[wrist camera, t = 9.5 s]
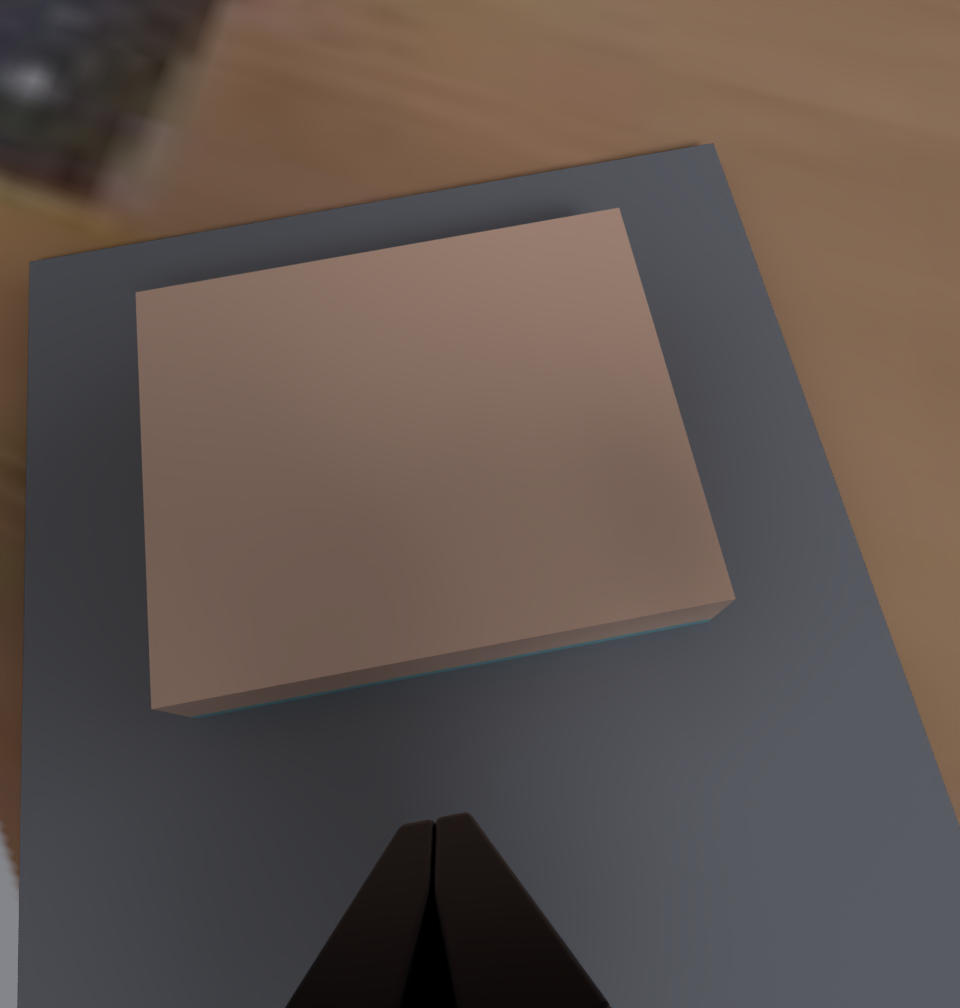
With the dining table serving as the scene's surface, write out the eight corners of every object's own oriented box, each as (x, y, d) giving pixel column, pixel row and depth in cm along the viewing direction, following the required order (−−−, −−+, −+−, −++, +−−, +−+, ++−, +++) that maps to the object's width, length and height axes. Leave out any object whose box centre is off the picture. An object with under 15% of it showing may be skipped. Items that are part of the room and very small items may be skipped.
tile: (735, 599, 16) (619, 207, 19) (150, 709, 16) (135, 292, 19) (708, 621, 18) (607, 267, 22) (196, 718, 18) (175, 344, 21)
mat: (1003, 991, 16) (1021, 999, 16) (31, 1189, 16) (14, 1204, 15) (708, 158, 24) (713, 143, 23) (41, 274, 23) (29, 261, 22)
